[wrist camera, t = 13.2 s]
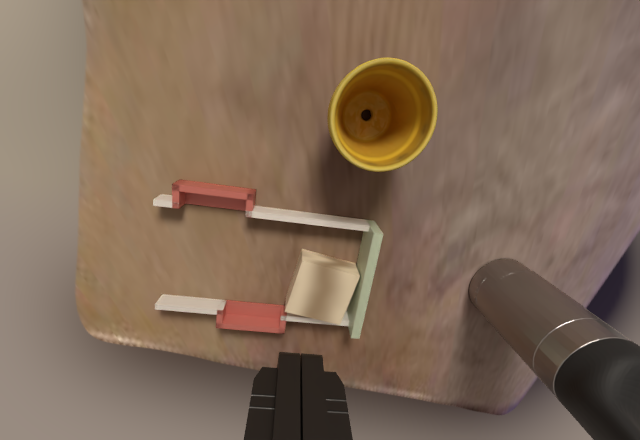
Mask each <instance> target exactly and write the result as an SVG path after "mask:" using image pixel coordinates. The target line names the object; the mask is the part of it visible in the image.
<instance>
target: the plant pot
mask: <svg viewBox="0 0 640 440" xmlns="http://www.w3.org/2000/svg"><path fill="white" fill-rule="evenodd" d="M364 110H369V111H370V112H371V117H370V119H368V120H363V119H362V118H361V113H362V112H363V111H364ZM436 121H437V100H436V96H435V93H434V90H433V88H432V85H431V83H430V82H429V80H428V79H427V77H426V76H425V75H424V74H423V73H422V72H421V71H420V70H419V69H418V68H417V67H415V66H414V65H412V64H410V63H408V62H406V61H404V60H401V59H396V58H379V59H374V60H371V61H368V62H365V63H363V64H361V65H360V66H358V67H357V68H355V69H354V70H352V71H351V72H350V73H349V74H348V75H347V76H346V77H345V78H344V79H343V80H342V81H341V82H340V83H339V85H338V86H337V88H336V90H335V91H334V93H333V95H332V98H331V101H330V104H329V108H328V128H329V133H330V136H331V138H332V141H333V143H334V145H335V146H336V148H337V150H338V151H339V152H340V153H341V155H342V156H343V157H344V158H345V159H346V160H348V161H349V162H350V163H352V164H353V165H355V166H357V167H359V168H361V169H364V170H368V171H373V172H386V171H391V170H395V169H398V168H400V167H402V166H404V165H406V164H408V163H409V162H411V161H412V160H413V159H415V158H416V157H417V156H418V155H419V154H420V153H421V152H422V151H423V149H424V148H425V147H426V145H427V144H428V142H429V140H430V139H431V137H432V134H433V132H434V129H435V125H436Z"/></svg>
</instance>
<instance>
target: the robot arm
mask: <svg viewBox="0 0 640 440" xmlns="http://www.w3.org/2000/svg"><path fill="white" fill-rule="evenodd" d="M469 295H470V299H471V301H472V303H473V304H474V305H475V306H476V308H477V309H478V310H479V311H480V312H481V313H482V314H483V315H484V317H485V318H486V319H487V320H488V321H489V322H490V323H491V325H492V326H493V327H494V328H495V329H496V330H497V331H498V333H499V334H500V335H501V336H502V337H503V338H504V339H505V340H506V342H507V343H508V344H509V345H510V346H511V347H512V348H513V349H514V351H515V352H516V353H517V354H518V355H519V356H520V357H521V358H522V360H523V361H524V362H525V363H526V364H527V365H528V366H529V367H530V369H531V370H532V371H533V372H534V373H535V374H536V375H537V376H538V378H539V379H540V380H541V381H542V382H543V383H544V384H545V385H546V386H547V388H548V389H549V390H550V391H551V392H552V393H553V394H554V395H555V397H556V398H557V399H558V400H559V401H560V402H561V403H562V404H563V405H564V406H565V408H566V409H567V410H568V411H569V412H570V413H571V414H572V416H573V417H574V418H575V419H576V420H577V421H578V422H579V423H580V425H581V426H582V427H583V428H584V429H585V430H586V431H587V433H588V434H589V435H590V436H591V437H592V438H593V439H594V440H640V346H638V345H637V344H635V343H634V342H632V341H631V340H630V339H628V338H627V337H625V336H624V335H622V334H621V333H620V332H618V331H617V330H615V329H614V328H612V327H611V326H610V325H608V324H606V323H605V322H603V321H602V320H601V319H599V318H598V317H597V316H595V315H594V314H592V313H591V312H589V311H588V310H587V309H585V308H584V307H583V306H582V305H581V304H579V303H578V302H576V301H575V300H574V299H572V298H571V297H569V296H568V295H566V294H565V293H564V292H562V291H561V290H559V289H558V288H556V287H555V286H554V285H552V284H551V283H549V282H548V281H546V280H545V279H544V278H542V277H541V276H539V275H538V274H536V273H535V272H533V271H531V270H530V269H528V268H527V267H525V266H524V265H522V264H521V263H519V262H518V261H515V260H513V259H499V260H495V261H492V262H490V263H488V264H486V265H485V266H483V267H482V268H481V269H480V270H479V271H478V272H477V273H476V274H475V275H474V277H473V279H472V281H471V283H470V287H469ZM244 440H353V439H352V433H351V427H350V421H349V415H348V408H347V403H346V395H345V389H344V384H343V383H342V381H341V380H340V378H339V376H338V375H337V373H336V372H325V371H324V368H323V358H322V355H315V354H301V356H300V353H288V352H279V358H278V365H277V368H268V367H262V368H261V370H260V371H259V373H258V374H257V375H256V377H255V378H254V382H253V388H252V394H251V401H250V407H249V412H248V418H247V424H246V430H245V436H244Z"/></svg>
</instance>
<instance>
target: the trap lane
mask: <svg viewBox="0 0 640 440" xmlns="http://www.w3.org/2000/svg"><path fill="white" fill-rule="evenodd" d="M255 200H256V189H249V188H241V187H233V186H226V185H218V184H210V183H203V182H195V181H187V180H178V181H176V182H175V183H173V184H172V195H165V194H161V195H159V196H158V197H156V198H155V199H153V206H161V207H169V208H177V209H179V208H180V207H182V206H183V205H184V204H185V203H186V204H194V205H202V206H210V207H218V208H227V209H235V210H243V211H246V215H245V217H252V218H260V219H268V220H276V221H285V222H293V223H301V224H310V225H318V226H326V227H334V228H343V229H351V230H359V231H363V236H362V240H361V245H360V250H359V255H358V260H357V264H356V266H357V269H358V272H359V275H360V278H359V280H358V283H357V285H356V287H355V290H354V292H353V295H352V297H351V300H350V302H349V305H348V308H347V311H346V312H345V314H344V317H343V319H342V322H341V324H340V325H339V326H348V328H349V332H350V337H351V338H357V339H359V338H360V334H361V329H362V325H363V321H364V316H365V312H366V308H367V303H368V299H369V295H370V290H371V286H372V282H373V277H374V273H375V268H376V264H377V260H378V255H379V251H380V247H381V242H382V238H383V233H382V231H381V230H380V228H379V227H378V225H377V224H376V222H375V221H374V220H366V219H358V218H350V217H342V216H334V215H326V214H318V213H310V212H302V211H294V210H286V209H278V208H270V207H262V206H255ZM155 309H157V310H168V311H180V312H191V313H202V314H214V315H217V320H216V328H223V329H235V330H247V331H258V332H270V333H282V334H284V332H285V325H286V321H293V322H305V323H316V324H328V325H338V324H334V323H330V322H325V321H321V320H317V319H313V318H309V317H304V316H300V315H296V314H292V313H288V312H285V306H284V305H274V304H263V303H252V302H241V301H231V300H220V299H209V298H198V297H188V296H177V295H166V294H162V295H161V297H160V298H159V300H158V301H157V302H156V304H155Z"/></svg>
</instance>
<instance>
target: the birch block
mask: <svg viewBox="0 0 640 440" xmlns="http://www.w3.org/2000/svg"><path fill="white" fill-rule="evenodd" d="M359 278H360V275H359V272H358V269H357V266H356V264H355V263H352V262H348V261H345V260H341V259H337V258H334V257H330V256H326V255H323V254H319V253H316V252H312V251H308V250H305V249H302V250H301V253H300V256H299V259H298V262H297V265H296V268H295V271H294V274H293V277H292V280H291V283H290V286H289V289H288V292H287V295H286V301H285V312H288V313H292V314H296V315H300V316H304V317H309V318H313V319H317V320H321V321H325V322H330V323H334V324H338V325H340V324H341V322H342V319H343V317H344V314H345V312H346V309H347V307H348V305H349V302H350V300H351V297H352V295H353V292H354V290H355V287H356V285H357V283H358V280H359Z"/></svg>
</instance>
